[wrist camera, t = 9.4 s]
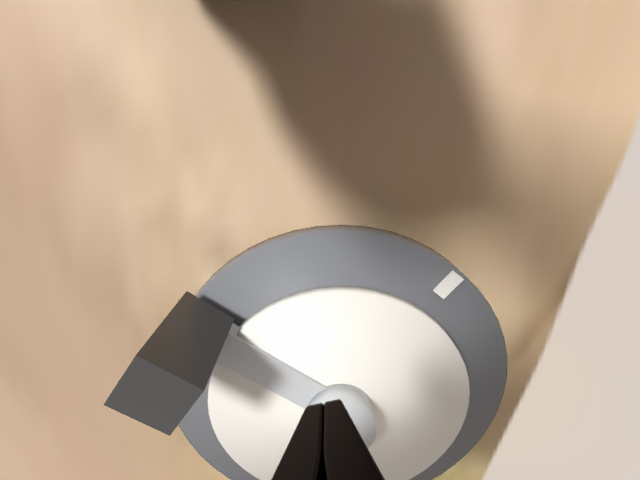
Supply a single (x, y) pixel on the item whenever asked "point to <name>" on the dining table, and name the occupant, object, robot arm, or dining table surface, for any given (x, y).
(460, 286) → the dial base
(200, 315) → the dial
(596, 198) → the dining table surface
